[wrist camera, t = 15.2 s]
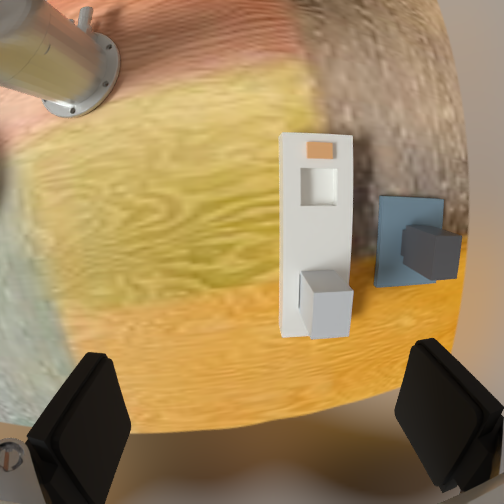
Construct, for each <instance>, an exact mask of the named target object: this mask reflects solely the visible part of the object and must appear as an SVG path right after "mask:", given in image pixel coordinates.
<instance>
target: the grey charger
mask: <svg viewBox="0 0 504 504" xmlns="http://www.w3.org/2000/svg"><path fill="white" fill-rule="evenodd" d="M353 293H354V291H353V290H352V288H351V287H350V286H349V285H348V284H347V283H346V282H345V281H344V280H343V279H342V278H341V277H340V276H339V275H338V274H337V273H336V271H335V270H317V271H301V273H300V304H299V312H300V314H301V317H302V319H303V321H304V324H305V326H306V329H307V331H308V333H309V336H310V338H311V339H323V338H335V337H346V336H349V330H350V322H351V313H352V303H353Z"/></svg>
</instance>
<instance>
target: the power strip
mask: <svg viewBox="0 0 504 504" xmlns="http://www.w3.org/2000/svg"><path fill="white" fill-rule="evenodd" d="M279 194H280V279H279V327H280V331H281V335H282V337H299V336H309V333H308V331H307V329H306V326H305V324H304V321H303V319H302V317H301V314H300V312H299V304H300V273H301V271H317V270H335V271H336V273H337V274H338V275H339V276H340V277H341V278H342V279H343V280H344V281H345V282H346V283H347V284H348V285H349V275H350V261H351V243H352V218H353V136H352V135H337V134H319V133H288V132H282V133H281V134H280V135H279Z"/></svg>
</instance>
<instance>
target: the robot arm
mask: <svg viewBox="0 0 504 504" xmlns="http://www.w3.org/2000/svg"><path fill="white" fill-rule="evenodd" d="M92 14H93V8H92V7H83V8H81V10H80V13H79V18H78V26H76V25H75V24H74V22H75V21H74V20H73V19H68V18H66V17H65V16H64V15H63V14H61V13H60V12H59V11H58V10H56V9H55V8H54V7H53V6H51V5H50V4H49V3H48V2H46V1H45V0H0V86H1V87H4V88H8V89H11V90H15V91H18V92H21V93H25V94H28V95H31V96H34V97H38V98H41V99H42V102H43V104H44V106H45V107H46V109H47V110H48V111H49V112H50V113H52V114H54V115H56V116H58V117H62V118H75V117H79V116H82V115H85V114H87V113H88V112H90V111H92V110H93V109H95V108H96V107H97V106H98V105H100V104H101V103H102V101H103V100H104V99H105V98H106V97H107V96H108V94H109V93H110V92H111V90H112V88H113V87H114V85H115V83H116V80H117V77H118V75H119V70H120V54H119V50H118V48H117V46H116V44H115V43H114V42H113V41H112V40H111V39H110V38H109V37H107V36H106V35H104V34H101V33H97V32H92V26H91V25H90V23H91V20H92ZM108 84H109V85H108ZM107 85H108V86H107ZM503 409H504V407H503V405H501V403H500V402H499V401H498V400H497V399H496V398H495V397H494V396H493V395H492V394H491V393H490V392H489V391H488V390H487V389H486V388H485V387H484V386H483V385H482V384H481V383H480V382H479V381H478V380H477V379H476V378H475V377H474V376H473V375H472V374H471V373H470V372H469V371H468V370H467V369H466V368H465V367H464V366H463V365H462V364H461V363H460V362H459V361H457V359H456V358H455V357H454V356H452V355H451V354H450V353H449V352H448V351H447V350H446V349H445V348H444V347H443V346H442V345H441V344H440V343H439V342H438V341H437V340H436V339H434V338H429V339H423V340H418V341H417V342H416V343H415V345H414V346H412V348H411V350H410V354H409V359H408V363H407V367H406V371H405V374H404V378H403V382H402V385H401V389H400V392H399V396H398V399H397V403H396V406H395V416H396V419H397V420H398V422H399V424H400V426H401V427H402V429H403V431H404V432H405V434H406V436H407V438H408V439H409V441H410V443H411V445H412V446H413V448H414V450H415V452H416V453H417V455H418V457H419V459H420V460H421V462H422V464H423V466H424V468H425V469H426V471H427V473H428V475H429V477H430V478H431V480H432V482H433V484H434V485H435V486H439V487H440V489H441V491H442V493H444V492H446V491H448V490H451V489H453V488H455V487H457V485H458V486H459V487H460V493H459V495H457V496H455V497H453V498H450V499H448V500H446V501H443V502H441V503H439V504H504V417H503V416H502V415H501V413H502V411H503ZM130 431H131V421H130V418H129V415H128V412H127V409H126V406H125V403H124V399H123V396H122V393H121V390H120V386H119V383H118V379H117V376H116V372H115V368H114V365H113V361H112V360H111V359H110V358H108V357H107V355H106V354H104V353H93V352H88V353H86V354H85V356H84V357H83V358H82V360H81V361H80V362H79V364H78V365H77V366H76V368H75V369H74V370H73V372H72V373H71V374H70V376H69V377H68V378H67V380H66V381H65V382H64V384H63V385H62V386H61V388H60V389H59V390H58V392H57V393H56V394H55V396H54V397H53V399H52V400H51V401H50V403H49V404H48V406H47V407H46V408H45V410H44V411H43V413H42V414H41V416H40V417H39V418H38V420H37V421H36V423H35V424H34V426H33V427H32V429H31V430H30V431H29V433H28V434H27V437H28V440H27V441H26V443H24V442H23V441H21V440H18V439H14V438H5V439H2V440H0V504H105V501H106V498H107V495H108V492H109V489H110V487H111V484H112V481H113V478H114V475H115V472H116V469H117V467H118V464H119V461H120V458H121V455H122V453H123V450H124V447H125V444H126V442H127V439H128V436H129V434H130Z"/></svg>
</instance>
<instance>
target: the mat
mask: <svg viewBox="0 0 504 504" xmlns="http://www.w3.org/2000/svg"><path fill="white" fill-rule="evenodd" d="M443 206H444V199H435V198H418V197H399V196H379V222H378V241H377V255H376V267H375V278H374V286H375V287H376V288H378V287H392V286H405V285H418V284H429V283H436V280H433V281H430V280H429V279H427V278H425V277H424V276H422V275H421V274H419V273H417V272H416V271H414V270H412V269H411V268H409V267H407V266H406V265H404V264H403V256H401V243H402V230H406V225H424V226H434V227H437V228H440V229H442V222H443Z"/></svg>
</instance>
